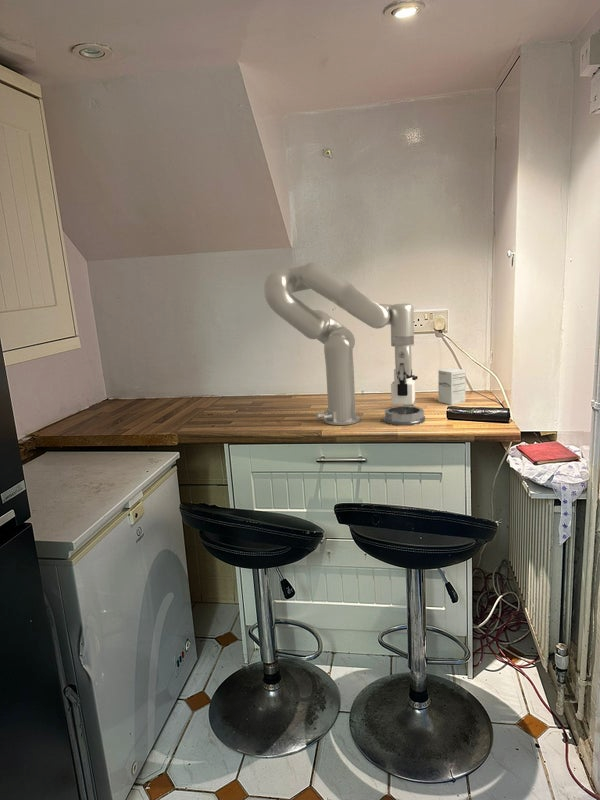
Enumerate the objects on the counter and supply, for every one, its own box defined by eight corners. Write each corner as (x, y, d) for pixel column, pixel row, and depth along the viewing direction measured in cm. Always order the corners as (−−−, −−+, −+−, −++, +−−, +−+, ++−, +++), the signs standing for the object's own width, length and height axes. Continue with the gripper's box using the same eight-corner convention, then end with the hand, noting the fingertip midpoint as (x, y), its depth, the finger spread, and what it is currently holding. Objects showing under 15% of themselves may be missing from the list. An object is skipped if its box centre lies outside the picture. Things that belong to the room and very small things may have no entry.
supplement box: (437, 402, 221) (437, 369, 218) (452, 399, 224) (452, 367, 221) (451, 405, 214) (451, 372, 212) (466, 402, 218) (466, 369, 215)
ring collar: (400, 427, 188) (399, 417, 188) (375, 419, 201) (375, 409, 200) (433, 420, 194) (433, 410, 194) (408, 413, 207) (407, 403, 206)
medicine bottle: (415, 400, 198) (414, 365, 196) (412, 405, 192) (412, 369, 189) (394, 399, 201) (393, 366, 198) (391, 404, 194) (390, 369, 191)
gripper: (412, 344, 183) (413, 398, 186) (414, 337, 199) (415, 387, 203) (389, 344, 184) (390, 398, 188) (392, 338, 201) (393, 387, 205)
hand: (403, 392), depth 195 cm, fingers closed on medicine bottle, 7 cm apart
